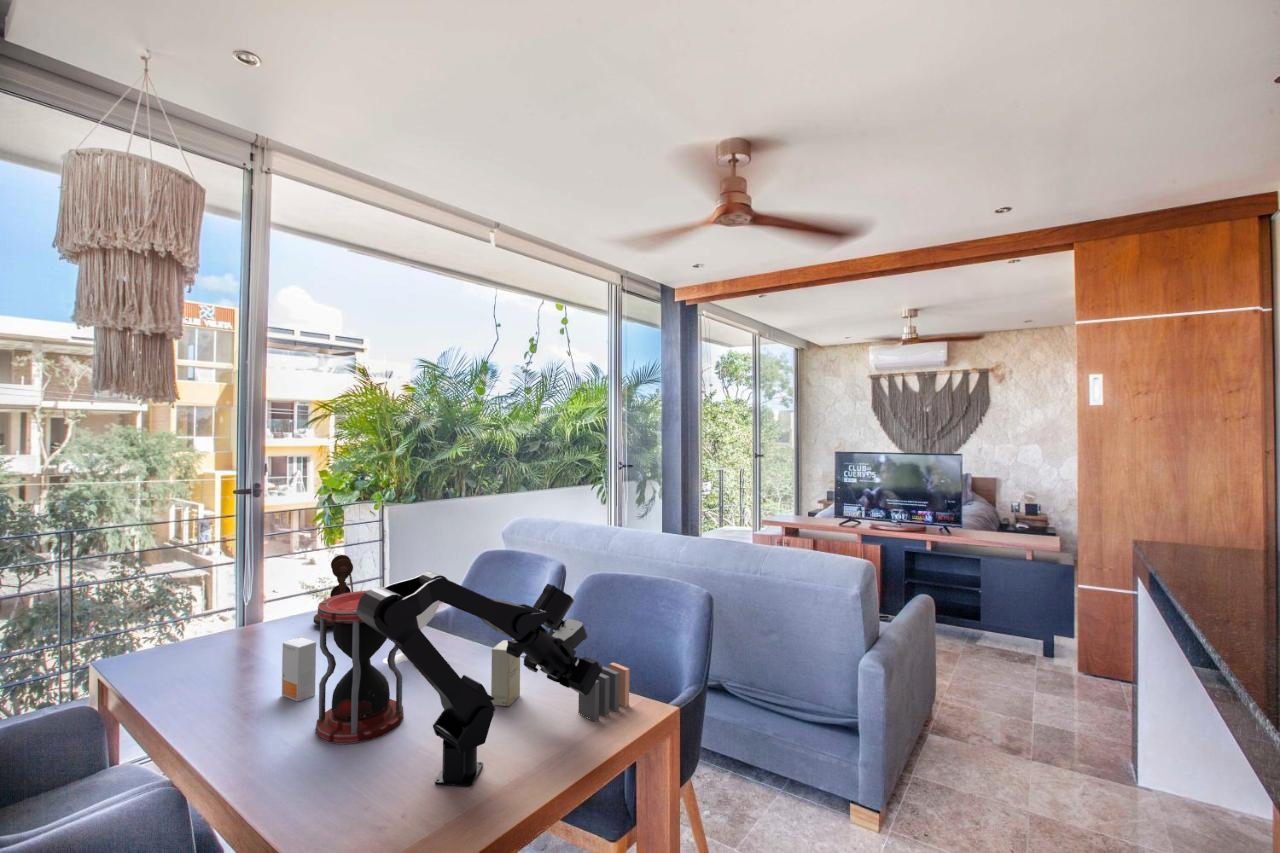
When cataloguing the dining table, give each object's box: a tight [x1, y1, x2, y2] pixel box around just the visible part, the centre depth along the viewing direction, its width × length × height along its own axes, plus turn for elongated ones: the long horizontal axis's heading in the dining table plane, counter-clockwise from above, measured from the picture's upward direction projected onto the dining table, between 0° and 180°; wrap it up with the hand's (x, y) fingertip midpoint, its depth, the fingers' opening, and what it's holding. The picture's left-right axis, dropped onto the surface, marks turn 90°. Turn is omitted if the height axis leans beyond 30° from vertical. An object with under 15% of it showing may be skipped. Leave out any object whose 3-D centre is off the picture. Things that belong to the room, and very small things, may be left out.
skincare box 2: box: [490, 639, 521, 707], centre depth 133 cm, size 6×4×12 cm
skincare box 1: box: [281, 637, 317, 702], centre depth 134 cm, size 6×4×12 cm
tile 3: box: [601, 665, 620, 713], centre depth 131 cm, size 1×5×8 cm, turn 47°
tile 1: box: [578, 680, 600, 722], centre depth 126 cm, size 1×5×8 cm, turn 47°
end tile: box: [609, 662, 630, 708], centre depth 133 cm, size 1×5×8 cm, turn 47°
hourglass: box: [315, 589, 405, 745], centre depth 122 cm, size 16×16×25 cm
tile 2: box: [597, 673, 610, 717], centre depth 129 cm, size 1×5×8 cm, turn 47°
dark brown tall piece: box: [313, 554, 354, 627], centre depth 183 cm, size 15×15×20 cm
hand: (583, 685), depth 125 cm, fingers closed
